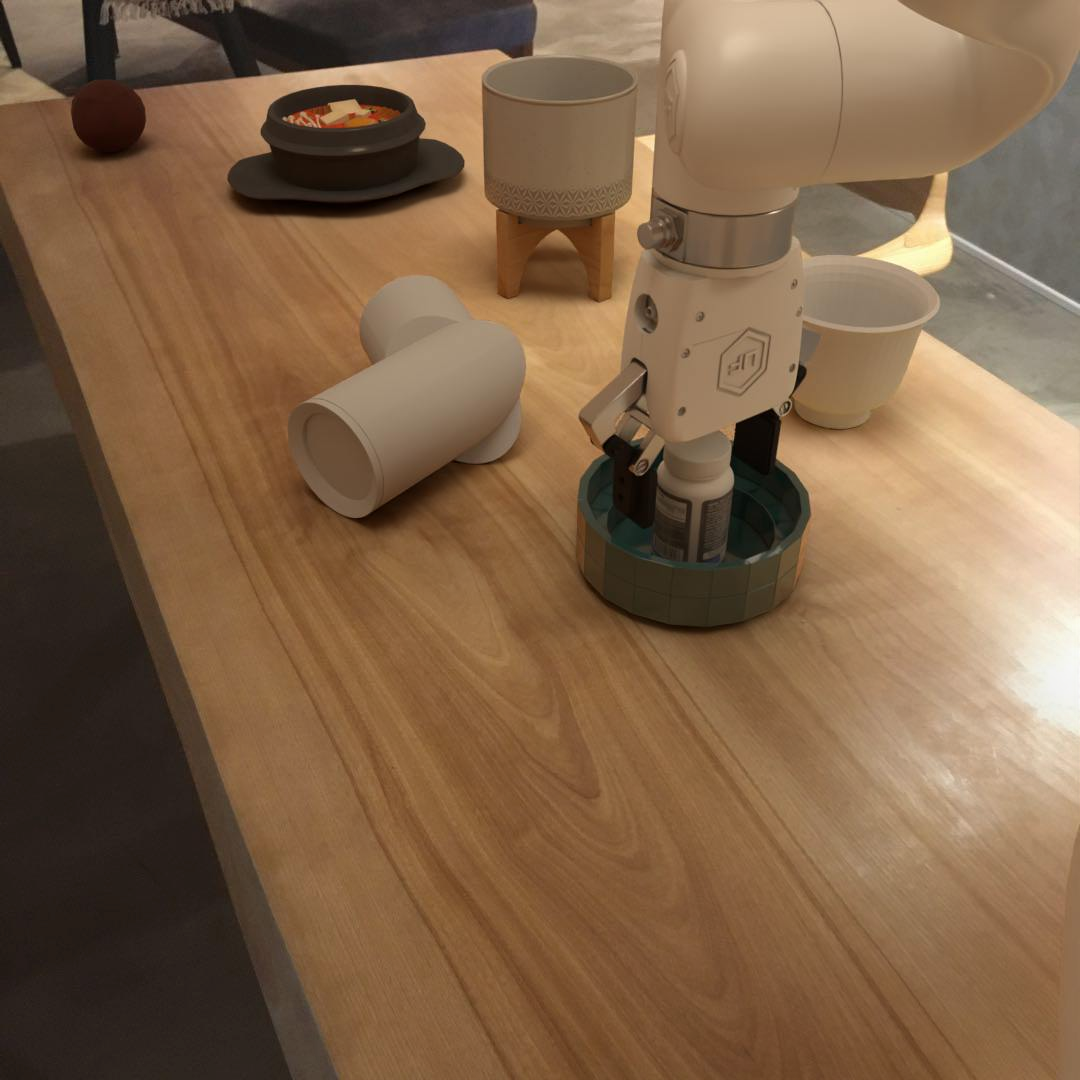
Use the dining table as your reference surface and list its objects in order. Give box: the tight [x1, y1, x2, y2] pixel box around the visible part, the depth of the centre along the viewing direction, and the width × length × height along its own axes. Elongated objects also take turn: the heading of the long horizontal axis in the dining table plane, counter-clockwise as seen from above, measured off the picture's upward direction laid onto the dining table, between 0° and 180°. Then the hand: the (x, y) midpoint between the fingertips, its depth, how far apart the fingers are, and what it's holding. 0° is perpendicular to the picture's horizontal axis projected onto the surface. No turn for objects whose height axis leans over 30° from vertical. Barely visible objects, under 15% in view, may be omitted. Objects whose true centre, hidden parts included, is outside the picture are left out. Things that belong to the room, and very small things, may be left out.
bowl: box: [575, 436, 812, 628], centre depth 74 cm, size 14×14×5 cm
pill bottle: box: [652, 430, 734, 563], centre depth 73 cm, size 5×5×8 cm
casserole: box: [227, 84, 466, 205], centre depth 123 cm, size 25×19×8 cm
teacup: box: [791, 254, 941, 430], centre depth 87 cm, size 12×15×10 cm
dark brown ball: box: [70, 78, 147, 153], centre depth 132 cm, size 8×9×8 cm
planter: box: [480, 54, 639, 302], centre depth 103 cm, size 13×13×18 cm
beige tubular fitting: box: [287, 274, 527, 519], centre depth 83 cm, size 18×11×20 cm
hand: (694, 489), depth 72 cm, fingers open, 9 cm apart
